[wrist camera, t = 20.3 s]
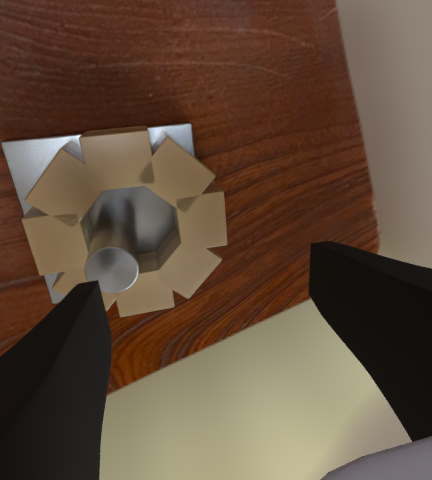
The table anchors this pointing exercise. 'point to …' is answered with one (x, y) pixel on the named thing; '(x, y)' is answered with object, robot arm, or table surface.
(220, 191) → the ring
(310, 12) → the table surface
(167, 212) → the peg stand
